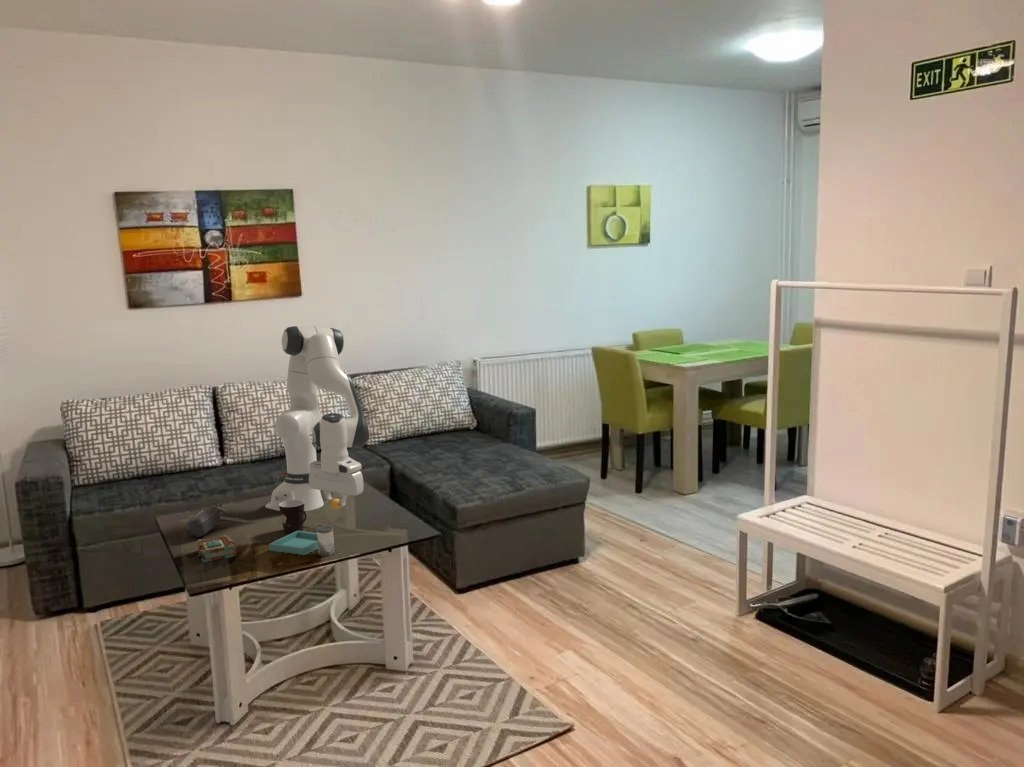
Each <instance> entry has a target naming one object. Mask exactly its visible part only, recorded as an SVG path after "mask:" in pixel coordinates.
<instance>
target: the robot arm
mask: <svg viewBox="0 0 1024 767" xmlns="http://www.w3.org/2000/svg"><path fill="white" fill-rule="evenodd" d="M344 344H345V341H344V335H343V333H342V332H341V330H339V329H336V328H334V327H330V328H328V327H323V326H317V325H316V326H315V325H314V326H294V325H293V326H289V327H286V328H285V329H284V331H283V334H282V337H281V346H282V351H283V352H284V353H285V354H286V355H289V362H288V366H287V368H288V371H287V379H286V391H287V393H288V395H289V403H290V406H289V409H286V410H284V411H282V412H281V413H280V414H279V415H278V417H277V418H276V419H275V422H274V430H275V432H276V434H277V435H278V437H280V439H281V443H282V445H283V447H284V451H285V459H286V460H285V461H286V470H287V471H286V472H284V473H281V475H282V476H281V477H282V478H284V479H283V482H282V483H280V484H279V485H278V486H276V488H275V489H273V491H272V492H271V499H270V500H271V501H269V502H268V503H266V504H265V508H266V509H271V510H275V511H279V512H280V508H279V503H281V502H284V501H287V500H303V501H304V511H305V512H306V511H309V512H310V511H312V510H313V511H314V510H316V509H320V508H321V507H323V506H324V505H325V504H324V503H325V502H324V500H323V497H322V494H321V491H323V495H324V497H325V498H326V504H329V505H331V502H332V500H334V499H335V498H334V497H332V495H331V493H337V494H340V496H341V499H339V506H341V507H345V506H346V504H347V503H346V500H347V498H348V497H349V495H350V496H359V495H360V494H361V495H362V493H363V492H364V477H363V474H362V473H363V472H362V471H360V470H361V469H362V464H361V462H359V461H357V460H355V459H353V458H351V457H350V456H349V451H348V448H362V447H364V446H365V445H366V444H367V443H368V442H369V440H370V436H371V434H370V433H371V432H370V426H369V424H368V423H367V419H366V417H365V414H364V412H363V409H362V406H361V402H360V399H359V396H358V393H357V390H356V386H355V384H354V382H353V379H352V378H351V376H350V375H348V374H346V373H345V372H344V370H343V369H342V367H341V365H340V358H339V355H340V354H342V352H343V350H344ZM318 388H320V389H321V390H325V391H328V392H332V393H335V394H337V395H339V396H341V397H342V398H343V399H344V401H345V403H346V406H347V407H346V408H347V409H348V413H349V417H350V418H345V416H344V415H342V414H340V413H336V412H335V413H333V412H331V413H330V412H329V413H327V414H324V415H323V416H322V412H321V410H320V408H319V402H318ZM311 431H313V443H312V440H311V437H310V436H311V435H310V432H311ZM313 444H314V445H315V446H316V447H318V448H319V449H321V452H320V461H317V450H316V448H315V447H314V446H313Z"/></svg>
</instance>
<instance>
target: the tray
mask: <svg viewBox="0 0 1024 767" xmlns="http://www.w3.org/2000/svg"><path fill="white" fill-rule="evenodd" d="M316 549H318V540H317V532H311V531H304V530H303V531H296V532H293V533H288V534H287V535H285V536H283V537H281V538H279V539H276V540H274V541H272V542H270V543H268V550H269V552H274V551H275V552H276V553H281V552H284V553H283V554H287V553H292V554H291V555H294V554H298V555H297V556H301V555H303V556H302V557H304V555H305V556H307V555H309V554H311V553H310V552H312V553H314V552H315V551H314V550H316ZM313 551H314V552H313ZM316 551H317V550H316ZM308 553H309V554H308ZM306 554H307V555H306Z"/></svg>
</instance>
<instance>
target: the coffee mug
mask: <svg viewBox="0 0 1024 767" xmlns="http://www.w3.org/2000/svg"><path fill="white" fill-rule="evenodd" d="M279 508H280V511H279V514H280V517H281V522H282V528H283V532H284V533H285V534H291V533H293V532H296V531H304V523H305V522H306V520H307V512H306V511H304V501H303V500H287V501H284V502H281V503H279Z"/></svg>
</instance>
